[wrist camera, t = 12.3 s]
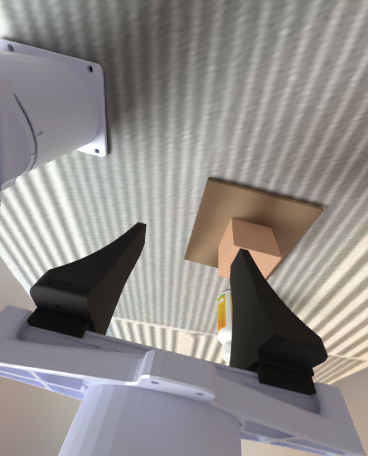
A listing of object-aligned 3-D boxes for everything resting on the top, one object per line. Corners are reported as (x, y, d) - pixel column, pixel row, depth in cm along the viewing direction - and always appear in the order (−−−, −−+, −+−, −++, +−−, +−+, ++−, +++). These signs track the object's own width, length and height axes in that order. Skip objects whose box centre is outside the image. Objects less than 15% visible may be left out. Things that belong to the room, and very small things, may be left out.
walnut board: (185, 255, 29) (184, 259, 29) (208, 177, 21) (208, 180, 21) (266, 276, 29) (267, 280, 29) (320, 206, 21) (323, 210, 21)
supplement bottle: (225, 308, 36) (226, 367, 29) (213, 291, 34) (211, 352, 26) (253, 303, 34) (263, 367, 26) (242, 285, 32) (250, 350, 24)
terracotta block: (218, 246, 26) (218, 275, 22) (231, 217, 23) (233, 245, 19) (253, 255, 26) (259, 286, 22) (271, 228, 23) (281, 257, 19)
